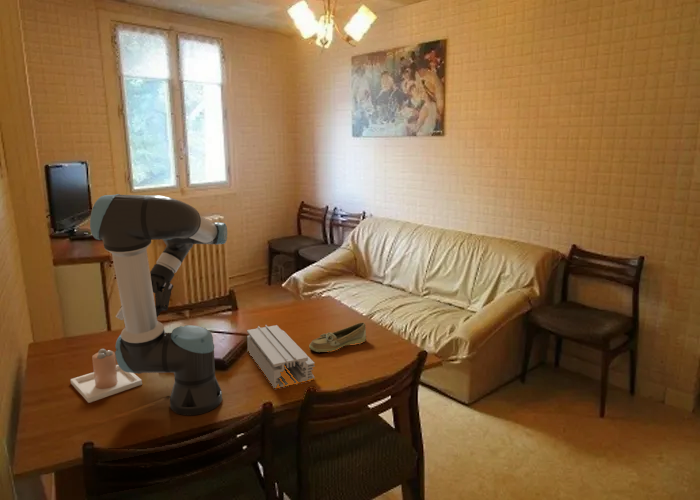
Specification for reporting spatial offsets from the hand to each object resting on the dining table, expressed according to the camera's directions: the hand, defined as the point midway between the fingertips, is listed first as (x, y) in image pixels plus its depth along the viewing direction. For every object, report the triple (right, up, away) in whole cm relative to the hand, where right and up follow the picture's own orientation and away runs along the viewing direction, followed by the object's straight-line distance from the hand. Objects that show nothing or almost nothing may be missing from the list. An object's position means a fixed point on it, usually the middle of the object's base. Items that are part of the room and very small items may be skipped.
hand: (131, 322), depth 160 cm
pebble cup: (-6, -19, -6) cm, 20 cm away
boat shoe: (+68, -14, +29) cm, 75 cm away
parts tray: (-6, -20, -5) cm, 21 cm away
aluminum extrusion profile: (+47, -17, +12) cm, 52 cm away
